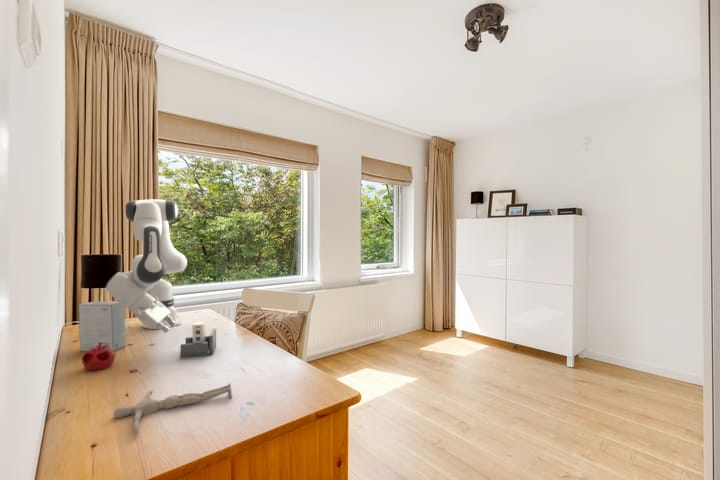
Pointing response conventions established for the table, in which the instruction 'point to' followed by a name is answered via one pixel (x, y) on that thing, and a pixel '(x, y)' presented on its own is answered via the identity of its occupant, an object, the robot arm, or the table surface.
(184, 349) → the bracket
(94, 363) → the pomegranate
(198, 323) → the ivory rectangular block
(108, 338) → the hard drive box
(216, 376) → the table surface
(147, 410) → the artist's mannequin
